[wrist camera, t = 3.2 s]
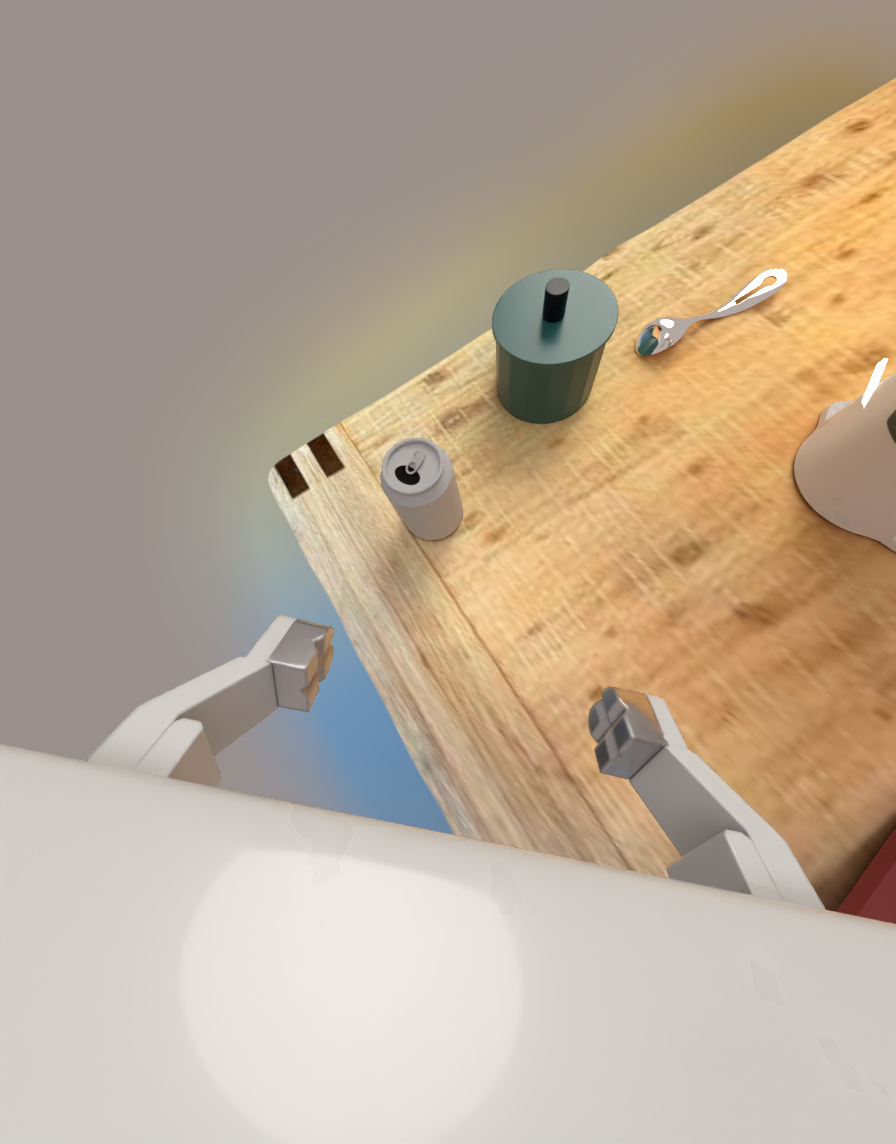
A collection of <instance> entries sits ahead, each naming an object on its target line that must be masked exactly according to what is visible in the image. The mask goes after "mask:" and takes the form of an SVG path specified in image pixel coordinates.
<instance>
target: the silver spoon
mask: <svg viewBox="0 0 896 1144" xmlns="http://www.w3.org/2000/svg"><path fill="white" fill-rule="evenodd" d="M768 277H773V278H775V279H776V283H775V284H774V285H772V286H766V287H765V288H763V289H762V290H760V291H758V292H757V293H755V294H754V295H752V296H750V297H749V298H747V299H745V300H744V301H742V302H741V303H739V304H736V303H735V301H736V300H738V299H739V298H741V297H743V296H744V295H746V294H748V293H749V292H751V291H752V290H754V289H756V288H757V287H759V286H761V285H762V281H763V280H764V279H766V278H768ZM786 280H787V273H786V271H784V270H780V269H772V270H768V271H766V272H764V273H762V274H760V275H759V276H757V277H756V278H754V279H753V280H751V281H750V282H749V283H748V284H746V285H745V286H744V287H743V288H741V289H740V290H739V291H738V292H737V293H736V294H734V295H733V296H732V297H731V298H730V299H728V300H727V301H726V302H725V303H724V304H722V305H721V306H719V307H718V308H716V309H715V310H713V311H711V312H708V313H705V314H702V315H697V316H689V317H677V316H663V317H658V318H656V319H654V320H652V321H650V322H649V323H648V324H646V325H645V326H644V327H643V329H642V330H641V331H640V333H639V335H638V337H637V340H636V351H637V353H638V354H639V355H641V356H650V355H653V354H656V353H658V352H660V351H663V350H665V349H666V348H668V347H670V346H672V345H673V344H674V343H676V342H677V341H678V340H679V339H680V338H681V337H682V336H683V335H684V333H685V332H686V330H687V329H688V327H689V326H690V325H691V324H692V323H694V322H697V321H701V320H707V319H714V318H720V317H724V316H728V315H732V314H735V313H738V312H740V311H743V310H745V309H747V308H750V307H752V306H754V305H756V304H758V303H760V302H761V301H763V300H765V299H767V298H768V297H770V296H771V295H773V294H774V293H776V292H777V291H778V290H779V289H781V288H782V286H783V285H784V284H785V282H786Z"/></svg>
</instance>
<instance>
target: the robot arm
mask: <svg viewBox="0 0 896 1144" xmlns="http://www.w3.org/2000/svg"><path fill="white" fill-rule="evenodd" d="M887 360H888V359H886V358H884V359H883V360H882V361H880V362H879V363H878V364H877V365H876V368H875V370H874V373H873V375H872V377H871V380H870V382H869V385H868V387H867V390H866V392H865V393H864V394H863V395H861V396H860V397H858V398H857V399H855V400H854V401H842V402H835V403H833V404H831V405H830V406H828V407H827V408H825V409H824V410H823V411H822V413H821V415H820V418H819V421H818V425H817V428H816V429H815V431H814V432H813V433H812V434H811V435H810V436H809V437H808V438H807V439H806V440H805V441H804V442H803V443H802V445H801V446H800V448H799V450H798V452H797V454H796V457H795V462H794V474H795V479H796V483H797V485H798V488H799V490H800V492H801V494H802V495H803V497H804V498H805V500H806V501H807V502H808V503H809V505H810V506H811V507H812V508H813V509H814V510H815V511H816V512H817V513H819V514H820V515H821V516H822V517H824V518H825V519H826V520H828V521H830V522H831V523H833V524H835V525H836V526H838V527H840V528H842V529H845V530H847V531H850V532H852V533H855V534H859V535H862V536H866V537H869V538H872V539H875V540H877V541H879V542H881V543H882V544H884V545H885V546H887V547H888V548H890V549H891V550H893V551H894V552H896V372H895V373H894V374H892V375H891V376H889V377H888V378H886V379H885V380H883V381H882V382H880V383H879V380H880V378H881V375H882V373H883V370H884V368H885V365H886V363H887ZM878 383H879V384H878ZM333 634H334V632H333V628H332V627H329V626H325V625H321V624H317V623H313V622H309V621H304V620H300V619H295V618H290V617H286V616H282V615H280V616H279V617H277V618H276V619H275V620H274V621H273V623H272V624H271V625H270V626H269V627H268V629H267V630H266V631H265V633H264V634H263V635H262V636H261V638H260V639H259V640H258V642H257V643H256V644H255V646H254V647H253V648H252V649H251V651H250V652H249V653H248V655H247V656H246V657H238V658H236V659H234V660H232V661H230V662H227V663H225V664H223V665H221V666H219V667H217V668H215V669H213V670H211V671H209V672H207V673H205V674H203V675H201V676H199V677H197V678H195V679H193V680H190V681H189V682H186V683H184V684H182V685H180V686H178V687H176V688H174V689H172V690H170V691H168V692H166V693H164V694H162V695H160V696H158V697H156V698H154V699H151V700H150V701H148V702H145V703H143V704H141V705H139V706H137V708H135V709H134V710H133V712H132V713H131V714H130V715H129V716H128V717H127V718H126V719H125V720H124V721H123V722H122V723H121V724H120V725H119V726H118V727H117V728H116V729H115V730H114V731H113V732H112V733H111V734H110V736H108V738H106V740H105V741H104V742H103V743H102V744H101V745H100V746H99V747H98V748H97V749H96V750H95V751H94V752H93V753H92V754H91V755H90V756H89V757H88V758H87V759H86V760H85V761H82V760H77V759H73V758H67V757H63V756H58V755H53V754H48V753H43V752H37V751H33V750H28V749H23V748H18V747H13V746H8V745H3V744H0V1144H896V924H894V923H889V922H884V921H879V920H874V919H869V918H864V917H859V916H854V915H849V914H844V913H839V912H834V911H829V910H826V909H825V907H824V905H823V904H822V902H821V900H820V899H819V897H818V895H817V893H816V892H815V890H814V888H813V887H812V885H811V883H810V882H809V880H808V878H807V876H806V875H805V873H804V871H803V870H802V868H801V866H800V864H799V863H798V861H797V859H796V858H795V856H794V854H793V852H792V851H791V849H790V847H789V846H788V844H787V842H786V841H785V839H784V838H782V837H781V836H780V835H779V834H778V833H777V832H776V831H775V830H774V829H773V828H772V827H771V826H770V825H769V824H768V823H767V822H766V821H765V820H764V819H763V818H762V817H761V816H760V815H759V814H758V813H757V812H756V811H755V810H754V809H753V808H752V807H750V806H749V805H748V804H747V803H746V802H745V801H744V800H743V799H742V798H741V797H740V796H739V795H738V794H737V793H736V792H735V791H734V790H733V789H732V788H731V787H730V786H729V785H728V784H727V783H726V782H725V781H724V780H723V779H722V778H721V777H720V776H718V775H717V774H716V773H715V772H714V771H713V770H712V769H711V768H710V767H709V766H708V765H707V764H706V763H705V762H704V761H703V760H702V759H701V758H700V757H699V756H698V755H697V754H696V753H695V752H691V751H689V749H688V747H687V745H686V743H685V741H684V739H683V737H682V735H681V733H680V731H679V729H678V727H677V725H676V723H675V721H674V719H673V717H672V714H671V712H670V710H669V708H668V706H667V704H666V702H665V701H664V700H663V699H662V698H661V697H659V696H654V695H649V694H645V693H640V692H635V691H630V690H626V689H621V688H616V687H611V686H609V687H607V688H605V689H604V691H603V692H602V693H601V695H602V698H603V699H602V700H600V701H598V702H595V703H594V704H593V706H592V708H591V709H590V713H589V717H588V724H589V730H590V734H591V736H592V737H593V738H594V739H595V741H596V742H597V745H596V747H595V749H594V750H595V754H596V758H597V762H598V766H599V770H600V773H603V774H607V775H611V776H616V777H620V778H624V779H628V780H630V781H629V782H630V783H631V785H632V786H633V788H634V789H635V790H636V792H637V793H638V795H639V796H640V798H641V799H642V800H643V802H644V803H645V805H646V806H647V807H648V809H649V810H650V812H651V813H652V815H653V816H654V817H655V819H656V820H657V822H658V823H659V825H660V826H661V827H662V829H663V830H664V832H665V833H666V835H667V836H668V837H669V839H670V840H671V842H672V843H673V845H674V846H675V847H676V849H677V850H678V852H679V853H680V855H681V856H682V857H680V858H679V859H677V860H675V861H674V862H672V863H670V864H669V866H668V867H667V872H668V875H669V878H665V877H660V876H655V875H650V874H645V873H640V872H635V871H630V870H625V869H620V868H615V867H610V866H605V865H600V864H595V863H590V862H585V861H580V860H575V859H571V858H566V857H561V856H556V855H551V854H546V853H541V852H536V851H531V850H526V849H521V848H516V847H511V846H506V845H501V844H496V843H491V842H486V841H481V840H476V839H471V838H466V837H461V836H456V835H451V834H446V833H441V832H436V831H431V830H427V829H422V828H416V827H412V826H406V825H402V824H396V823H392V822H387V821H381V820H377V819H372V818H367V817H362V816H357V815H352V814H347V813H342V812H337V811H332V810H326V809H322V808H317V807H312V806H307V805H302V804H296V803H292V802H287V801H282V800H277V799H272V798H267V797H262V796H257V795H252V794H247V793H242V792H237V791H232V790H227V789H222V788H217V786H218V785H219V783H220V782H221V780H222V779H221V774H220V771H219V769H218V766H217V763H216V761H215V758H214V756H215V755H217V754H218V753H219V752H221V751H222V750H223V749H225V748H226V747H227V746H228V745H230V744H231V743H233V742H234V741H235V740H236V739H238V738H239V737H241V736H242V735H243V734H245V733H246V732H247V731H248V730H250V729H251V728H253V727H254V726H255V725H256V724H258V723H259V722H261V721H262V720H263V719H264V718H266V717H267V716H268V715H270V714H271V713H272V712H273V711H275V710H276V709H277V708H278V707H283V708H288V709H294V710H300V711H305V712H309V710H310V708H311V706H312V704H313V702H314V700H315V698H316V696H317V694H318V692H319V682H320V681H322V680H324V679H325V678H326V676H327V673H328V671H329V668H330V665H331V662H332V658H333V646H332V645H331V643H330V642H331V641H332V638H333V636H334V635H333Z"/></svg>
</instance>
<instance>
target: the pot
mask: <svg viewBox="0 0 896 1144" xmlns="http://www.w3.org/2000/svg"><path fill="white" fill-rule="evenodd" d="M604 348H605V345H604V346H603V347H602V348H601V349H599V350H598V351H597V352H596V353H594V354H593V355H591V356H590V357H588V358H586V359H584V360H582V361H580V362H577V363H574V364H571V365H567V366H562V367H553V368H543V367H534V366H530V365H526V364H523V363H521V362H518V361H516V360H514V359H513V358H511V357H510V356H508V355H507V354H506V353H505V352H504V351H503V350H502V349H501V348H500V347H499V345H498V344H497V342H496V362H497V387H498V395H499V399H500V401H501V403H502V405H503V406H504V408H505V409H506V410H507V411H508V412H509V413H511V414H512V415H513V416H515V417H516V418H519V419H521V420H523V421H526V422H531V423H539V424H540V423H552V422H556V421H560V420H562V419H565V418H567V417H569V416H571V415H572V414H574V413H575V412H576V411H577V410H579V409H580V408H581V407H582V405H583V404H584V403H585V401H586V400H587V398H588V396H589V395H590V392H591V389H592V386H593V382H594V379H595V376H596V373H597V370H598V367H599V363H600V360H601V357H602V354H603V351H604Z"/></svg>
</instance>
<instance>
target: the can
mask: <svg viewBox="0 0 896 1144" xmlns="http://www.w3.org/2000/svg"><path fill="white" fill-rule="evenodd" d="M380 478H381V486H382V488H383V490H384V492H385V494H386V496H387V497H388V499H389V500H390V502H391V503H392V505H393V506H394V508H395V509H396V511H397V512H398V514H399V515H400V517H401V518H402V519H403V521H404V522H405V524H406V525H407V527H408V528H409V530H410V531H411V532H412V533H413V534H414V535H415V536H417V537H419V538H422V539H424V540H438V539H443V538H445V537H446V536H448V535H450V534H452V532H453V531H454V530H455V529H456V528H457V527H458V526H459V524H460V522H461V520H462V514H463V508H462V503H461V499H460V495H459V491H458V487H457V483H456V479H455V475H454V471H453V467H452V463H451V459H450V458H449V456H448V454H447V453H446V451H445V450H443V449H442V448H441V447H439V446H438V445H436V444H435V443H433V442H432V441H430V440H427V439H424V438H409V439H405V440H402V441H401V442H399V443H397V444H395V445H394V446H393V447H392V448H391V449H390V450H389V451H388V452H387V454H386V456H385V457H384V459H383V463H382V471H381V475H380Z"/></svg>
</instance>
